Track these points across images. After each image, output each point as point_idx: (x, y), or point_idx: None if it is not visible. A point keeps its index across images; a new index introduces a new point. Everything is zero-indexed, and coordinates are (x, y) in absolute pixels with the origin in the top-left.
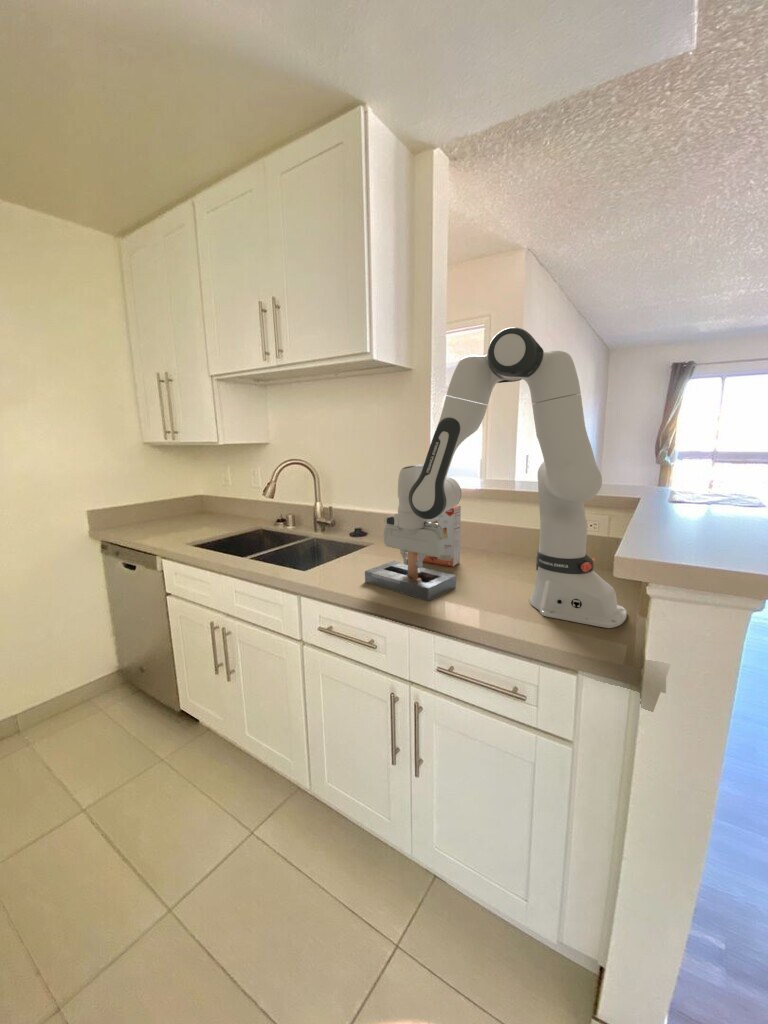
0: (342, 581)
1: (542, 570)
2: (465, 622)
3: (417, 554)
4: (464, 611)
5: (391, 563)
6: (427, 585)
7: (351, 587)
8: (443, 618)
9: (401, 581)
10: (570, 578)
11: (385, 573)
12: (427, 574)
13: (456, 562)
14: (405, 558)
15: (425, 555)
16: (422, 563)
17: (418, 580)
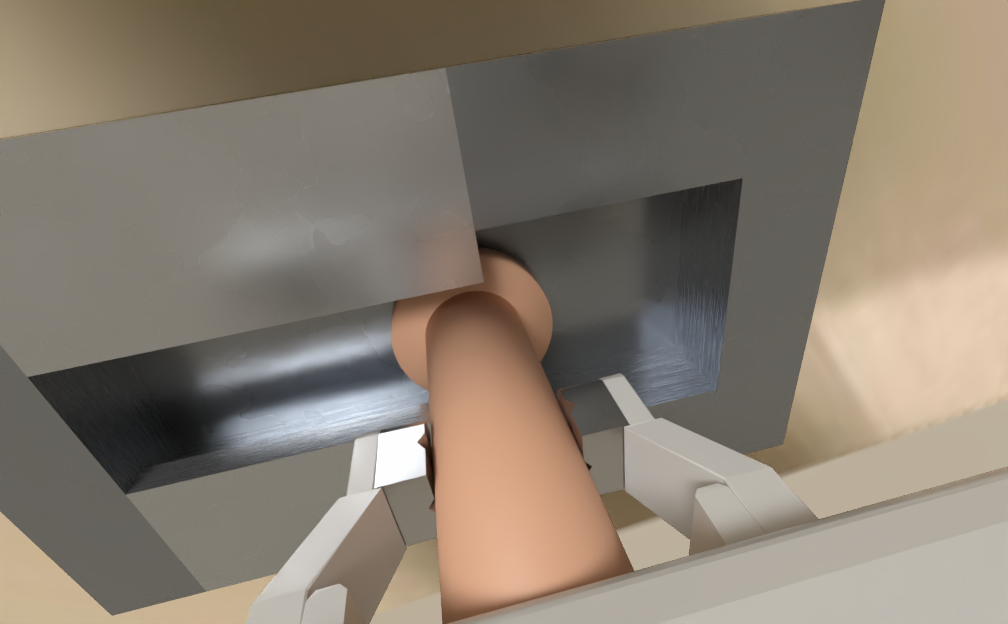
0: (62, 612)
1: None
2: (970, 397)
3: (620, 544)
4: (947, 324)
5: None
6: (751, 417)
7: (227, 599)
8: (872, 441)
9: None
10: None
11: (287, 521)
12: (558, 209)
13: None
14: (403, 546)
15: (775, 485)
16: (635, 394)
17: (541, 320)
